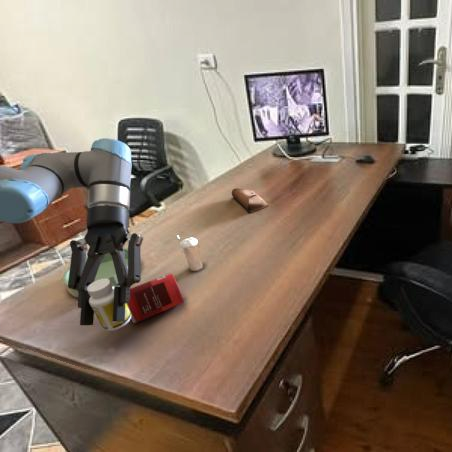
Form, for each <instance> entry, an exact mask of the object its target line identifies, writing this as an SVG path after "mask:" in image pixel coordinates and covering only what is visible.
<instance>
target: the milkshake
mask: <svg viewBox="0 0 452 452" xmlns="http://www.w3.org/2000/svg"><path fill="white" fill-rule="evenodd" d="M176 238H177V239H178V241H179V242H180V243H179V248H180V251H181V252H182V254H183V255H184V258H185V260H186V262H187V264H188V267H189V269H190V270H191V272H198V271H200V270H201V269H203V267H204V264H203V259H202V256H201V252H200V246H199V241H198V239H197V238H195V237H192V236H189V237H187V238H184V239H183V240H182V239H181V238H180V236H179V235H176Z"/></svg>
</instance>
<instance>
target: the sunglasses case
mask: <svg viewBox="0 0 452 452" xmlns="http://www.w3.org/2000/svg"><path fill="white" fill-rule="evenodd" d="M231 196H232V197H233V199H235V200H236V201H237V202H238V203H239V204H241V205H242V206H243V208H245V209H246V211H248V212H250V213H253V212H257V211H260V210H263V209H265V208H267V207H268V206H269V203H267V201H265V200H264V199H263V198H262V197H261V196H259V194H257V193H256V191H254V190H252V189H244V188H233V189H232V191H231Z"/></svg>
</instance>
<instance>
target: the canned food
mask: <svg viewBox="0 0 452 452" xmlns="http://www.w3.org/2000/svg"><path fill="white" fill-rule="evenodd" d="M176 280H177V279H176V278H175V276H174V274H173V273H168V274H165V275H162V276H159V277H157V278H155V279H151V280H149V281H147V282H144V283H141V284H139V285H136V286H133V287H130V301H129V303H126V304H127V307H128V309H129V311H130V313H131V319H130V321H131V322H132V323H133V324H136V323H139V322H141V321H142V322H143V321H144V320H147V319H149V318H152V317H153V316H155V315H158V314H160V313H163V312H165V311H167V310H169V309H172V308H174V307H177V306H179V305H181V304H182V303H183V302H184V301H185V300H184V298H183V296H182V293H181V291H180V288H179V285H178V283H177V281H176Z"/></svg>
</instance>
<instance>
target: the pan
mask: <svg viewBox="0 0 452 452" xmlns="http://www.w3.org/2000/svg"><path fill="white" fill-rule="evenodd" d="M123 248H124V252H125V255H124V256H125V260H126V264H127V268H128V247H123ZM96 254H98V253H96ZM87 258H88V256H87V255H86V259H85V264H86V261H87ZM69 272H70V266H69V267H68V268H67V269H66V271H64V273H63V275H62V277H61V279H62V283H63V284H64V287H65V288H66V289H67V291H68V293H69V294H70V295H71V296H72V297H74V298H77V299H78V291H77V290H74V289H69V288H68V281H69ZM100 279H109V280H110V281H111V283H112V286H113V287H120V286H118V285H117V284H118V279H117V275H116V272H115V268H114V264H113V260H112V256H111V255H110V253H108V254H105V256H104V258H103V259H102V260H101V262H100V265H99V268H98V271H97V274H96V277H95V280H94V282H95V281H97V280H100Z"/></svg>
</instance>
